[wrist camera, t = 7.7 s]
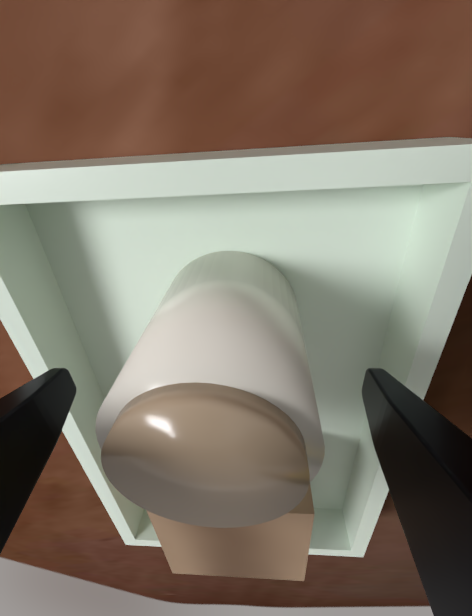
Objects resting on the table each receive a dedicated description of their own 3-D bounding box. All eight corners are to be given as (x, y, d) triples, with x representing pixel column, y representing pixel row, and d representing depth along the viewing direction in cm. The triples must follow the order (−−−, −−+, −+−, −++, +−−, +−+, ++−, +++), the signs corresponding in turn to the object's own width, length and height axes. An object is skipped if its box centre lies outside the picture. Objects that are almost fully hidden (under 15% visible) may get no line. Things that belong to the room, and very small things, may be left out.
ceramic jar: (300, 248, 10) (346, 392, 5) (294, 362, 13) (319, 541, 7) (155, 253, 11) (40, 389, 5) (178, 361, 14) (118, 529, 8)
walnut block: (302, 428, 15) (314, 514, 12) (295, 499, 19) (304, 581, 16) (169, 425, 16) (144, 507, 13) (187, 495, 20) (172, 573, 16)
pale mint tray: (448, 137, 9) (523, 141, 7) (349, 502, 20) (363, 557, 18) (4, 164, 10) (-80, 176, 8) (141, 494, 21) (125, 544, 19)
